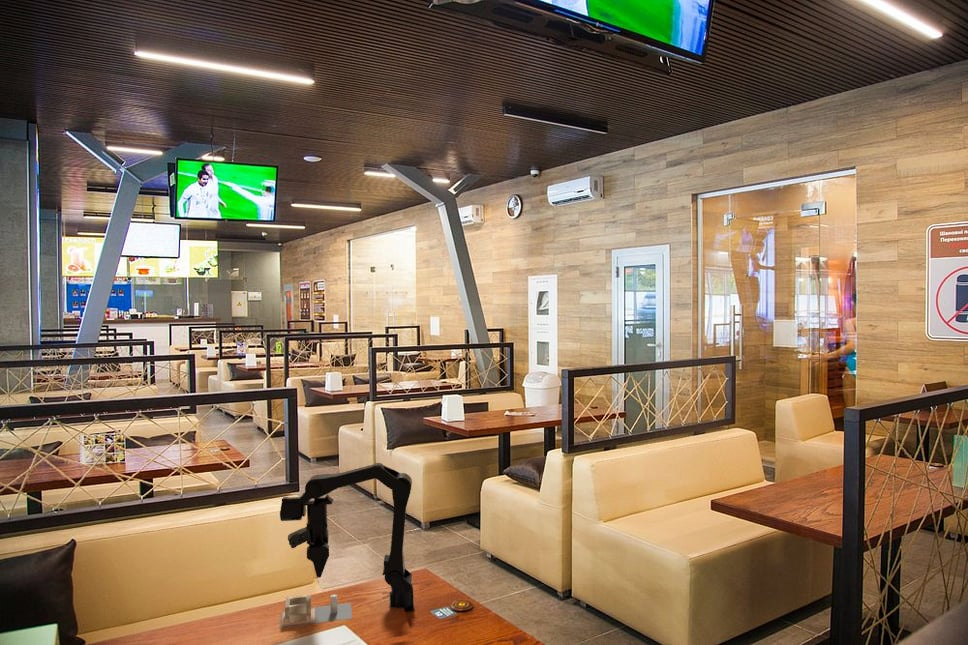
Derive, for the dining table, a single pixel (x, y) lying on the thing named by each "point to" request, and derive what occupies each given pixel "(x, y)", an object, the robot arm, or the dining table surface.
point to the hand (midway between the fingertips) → (318, 571)
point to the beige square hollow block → (298, 609)
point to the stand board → (323, 614)
